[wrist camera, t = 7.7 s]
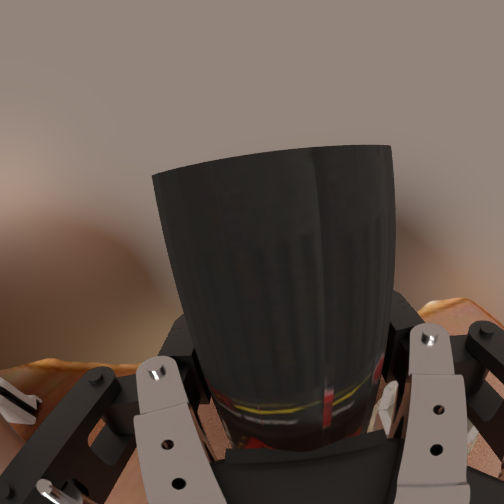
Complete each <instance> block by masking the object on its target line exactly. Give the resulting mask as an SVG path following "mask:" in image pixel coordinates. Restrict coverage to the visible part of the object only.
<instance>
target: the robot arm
mask: <svg viewBox="0 0 504 504" xmlns="http://www.w3.org/2000/svg"><path fill="white" fill-rule="evenodd" d="M489 371H490V372H491V373H492V374H493V375H495V376H496V377H497V378H498V379H499V380H500V381H501V382H502V383H503V385H504V330H502V329H501V328H500V327H498V326H497V325H496V324H494V323H492V322H489V321H476V322H474V323H472V324H471V325H470V327H469V331H468V334H467V335H457V336H449V334H448V332H447V331H446V329H444V328H443V327H441V326H439V325H437V324H433V323H425V322H424V321H423V319H422V318H421V317H420V316H419V315H418V313H417V312H416V311H415V310H414V309H413V308H412V307H411V306H410V304H409V303H408V302H406V300H405V298H404V297H403V296H402V295H401V294H400V293H398V292H396V291H394V290H393V297H392V307H391V316H390V324H389V332H388V339H387V345H386V352H385V357H384V363H383V368H382V375H383V378H384V380H385V382H386V383H388V382H392V381H397V383H398V387H397V390H396V396H395V403H394V409H393V415H392V421H391V426H390V431H389V435H388V438H387V437H386V434H385V431H384V429H380V430H376V431H372V432H368V433H364V434H360V435H355V436H351V437H347V438H344V439H342V440H339V441H337V442H334V443H332V444H329V445H327V446H324V447H322V448H319V449H316V450H313V451H310V452H296V451H286V450H278V449H270V448H246V449H226V454H225V459H221V460H217V458H216V456H215V454H214V451H213V449H212V447H211V444H210V442H209V440H208V437H207V435H206V432H205V430H204V427H203V425H202V422H201V419H200V417H199V414H198V412H197V411H198V407H199V404H209V403H210V399H211V394H210V391H209V388H208V385H207V383H206V380H205V377H204V374H203V371H202V369H201V366H200V363H199V360H198V357H197V354H196V351H195V348H194V345H193V341H192V338H191V335H190V332H189V329H188V325H187V322H186V319H185V315H184V314H183V315H181V316H180V317H179V318H178V319H177V320H176V321H175V322H174V324H173V326H172V328H171V331H170V332H169V334H168V337H167V338H166V340H165V342H164V344H163V346H162V348H161V350H160V352H159V354H158V356H156V357H152V358H150V359H147V360H146V361H144V362H143V363H142V364H141V365H140V366H139V367H138V369H137V371H136V374H134V375H129V376H123V377H116V375H115V373H114V372H113V370H112V369H111V368H109V367H104V366H101V367H96V368H93V369H91V370H89V371H88V372H86V373H85V374H84V375H83V376H82V377H81V378H80V379H79V381H78V382H77V383H76V384H75V385H74V386H73V387H72V388H71V390H70V391H69V392H68V393H67V394H66V395H65V396H64V398H63V399H62V400H61V401H60V402H59V403H58V405H57V406H56V407H55V408H54V409H53V410H52V412H51V413H50V414H49V415H48V416H47V418H46V419H45V420H44V421H43V422H42V424H41V425H40V426H39V427H38V428H37V430H36V431H35V432H34V433H33V434H32V436H31V437H30V438H29V439H28V441H27V442H26V441H25V440H24V439H23V438H22V437H21V436H20V435H19V434H18V433H17V432H16V431H15V430H14V428H13V427H12V426H11V425H10V424H9V423H8V421H7V420H6V419H5V418H4V417H3V415H2V414H1V413H0V504H104V503H105V501H106V499H107V498H108V496H109V494H110V492H111V491H112V489H113V487H114V485H115V483H116V482H117V480H118V478H119V476H120V475H121V473H122V471H123V469H124V468H125V466H126V464H127V462H128V461H129V459H130V457H131V455H132V454H133V452H134V450H135V448H136V447H137V450H138V456H139V462H140V467H141V473H142V478H143V482H144V487H145V492H146V496H147V500H148V504H504V399H503V398H502V397H501V396H500V395H499V394H498V393H497V392H496V391H495V390H494V389H493V388H492V387H491V386H490V385H489V383H488V382H487V381H486V380H485V378H486V376H487V374H488V372H489ZM100 418H102V419H103V421H104V422H105V423H106V424H105V426H104V427H103V429H102V430H101V431H100V433H99V434H98V436H97V437H96V439H95V440H94V442H93V443H92V445H91V446H90V447H89V445H88V436H89V434H90V432H91V431H92V430H93V428H94V427H95V425H96V424H97V423H98V421H99V420H100ZM467 418H468V419H469V420H470V421H471V423H472V424H473V425H474V426H475V428H476V429H477V430H478V431H479V433H480V434H481V435H482V437H483V438H484V439H485V441H486V442H487V443H488V445H489V446H490V447H491V449H492V450H493V451H494V453H495V454H496V455H497V457H498V458H499V459H500V461H501V462H502V464H501V471H500V473H499V476H498V478H495V477H493V476H490V475H488V474H486V473H483V472H481V471H479V470H476V469H474V468H472V467H469V466H467Z"/></svg>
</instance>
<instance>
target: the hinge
mask: <svg viewBox="0 0 504 504" xmlns="http://www.w3.org/2000/svg"><path fill="white" fill-rule="evenodd" d="M36 403H42V400H41V399H40V398H38V397H37V396H36V395H25V394H23V393H22V392H20V391H19V390H18V389H16V388H15V387H14V386H12V385H11V384H10V383H8V382H7V381H6V380H4V379H2V378H0V413H1V414H2V415H3V417H4V418H5V419H6V420H7V421H8V422H11V423H20V424H31V425H34V424H35V422H36V417H34V414H33V413H31V412H29V411H34V410H37V404H36Z"/></svg>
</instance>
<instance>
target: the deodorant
mask: <svg viewBox="0 0 504 504" xmlns="http://www.w3.org/2000/svg"><path fill="white" fill-rule="evenodd" d="M152 180H153V185H154V191H155V196H156V201H157V206H158V211H159V216H160V221H161V225H162V230H163V234H164V239H165V243H166V247H167V252H168V256H169V260H170V264H171V268H172V271H173V276H174V280H175V283H176V287H177V291H178V294H179V298H180V301H181V304H182V308H183V312H184V315H185V319H186V322H187V325H188V329H189V332H190V335H191V338H192V341H193V345H194V348H195V351H196V354H197V357H198V360H199V363H200V366H201V369H202V371H203V374H204V377H205V380H206V383H207V385H208V388H209V391H210V394H211V396H212V399H213V402H214V404H215V407H216V409H217V412H218V415H219V417H220V420H221V422H222V425H223V427H224V429H225V432H226V434H227V437H228V439H229V441H230V444H231V446H232V448H233V449H246V448H270V449H278V450H286V451H296V452H310V451H313V450H316V449H319V448H322V447H324V446H327V445H329V444H332V443H334V442H337V441H339V440H342V439H344V438H347V437H351V436H355V435H360V434H364V433H367V430H368V427H369V424H370V420H371V416H372V412H373V409H374V405H375V401H376V396H377V392H378V388H379V383H380V378H381V373H382V368H383V363H384V357H385V352H386V345H387V339H388V332H389V324H390V316H391V307H392V297H393V285H394V284H393V283H394V268H395V241H396V224H395V223H396V218H395V188H394V173H393V161H392V151H391V146H389V145H342V146H324V147H311V148H310V147H309V148H298V149H288V150H279V151H271V152H263V153H257V154H250V155H243V156H237V157H231V158H225V159H219V160H214V161H208V162H203V163H199V164H195V165H189V166H185V167H180V168H176V169H172V170H168V171H165V172H161V173H158V174H155V175H152Z"/></svg>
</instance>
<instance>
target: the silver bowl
mask: <svg viewBox="0 0 504 504" xmlns="http://www.w3.org/2000/svg"><path fill="white" fill-rule="evenodd" d="M397 387H398V383H397V381H392V382H390V383H389V384H388V385H387V386H386V387H385V388H384V392H383V395H382V398H381V399H380V400H379V401H378V402H377V403H376V405H375V406H374V409H373V412H372V416H371V420H370V424H369V427H368V430H367V433H368V432H372V431H376V430H380V429H384V431H385V434H386V437H387V438H388V435H389V431H390V426H391V421H392V415H393V409H394V403H395V396H396V390H397ZM478 433H479V431H478V430H477V429H476V428H475V426H474V425H473V424H472V423H471V421H470V420H469V419H468V418H467V455H468V454H469V453H470V451H471V450H472V448H473V446H474V445H475V442H476V440H477V437H478Z"/></svg>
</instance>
